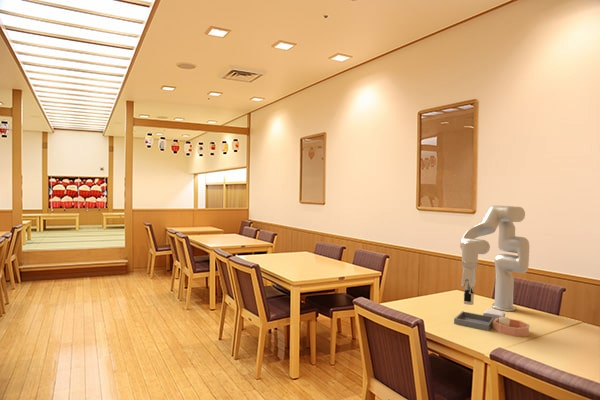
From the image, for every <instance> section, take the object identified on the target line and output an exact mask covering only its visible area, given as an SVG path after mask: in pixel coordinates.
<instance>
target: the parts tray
mask: <svg viewBox="0 0 600 400" xmlns="http://www.w3.org/2000/svg"><path fill="white" fill-rule="evenodd" d="M494 319H495V317H490V316H484V315H483V314H478V313H473V312H469V311H468V312H467V311H463V310H462V311H461V312H460V313H459V314H457V316H455V317H454V319H453V324H454V325H458V326H463V327H468V328H473V329H476V330H477V329H478V330H482V331H487V332H489V331H490V330H491V329H492V328H493V321H494Z"/></svg>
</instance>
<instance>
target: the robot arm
mask: <svg viewBox="0 0 600 400" xmlns="http://www.w3.org/2000/svg"><path fill="white" fill-rule="evenodd" d="M525 217H526V210H525V209H524V208H523V207H521V206H514V205H513V206H511V205H491V206H489V207H488V208H487V210H486V211H485V214H484V215H483V218H482V219H481V220H480V223H477V224H476V225H474V226H472V227H470V228H469V229H468V230H466V232H465V233H464V234H463V236H462V237H461V240H460V242H459V243H460V244H459V247H460V249H461V268H462V275H461V287H462V288H464V289H463V290H464V291H463V302H464V301H467V302H471V294H470V293H473V294H475V293H474V287H475V285H476V275H477V274H476V270H477V269H479V268H478V267H479V266H478V264H479V255H485V254H488V253H489V252H490V250H491V249H490V248H491V245H490V243H489V241H487V240H486V239H479V237H482V236H484V237H485V236H488V235H492V234H494V233H495V232H496V230H497V228H498V241H497V245H498V247H497V248H498V249H499V250H500V251H501V252H505V253H498V254H496V255H495V257H494V269H495V282H494V283H495V286H494V290H495V291H494V303H493V302H492V303H491V307H492V308H493V309H494V310H497V311H502V312H504V311H505V312H513V311H516V310H517V309H516V308H517V307H516V306H514V291H515V290H514V288H515V284H514V283H515V278H514V275H513V274H512V273H519V274H526V273H527V272H528V270H529V265H530V263H529V262H530V241H529V240H528V238H526V237H523V236H517V235H516V226H515V224H514V223H521V222H522V221H523V220H525ZM506 252H507V253H508V254H507V253H506ZM509 253H513V254H509ZM515 254H517V255H515Z"/></svg>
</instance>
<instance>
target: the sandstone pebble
mask: <svg viewBox="0 0 600 400" xmlns="http://www.w3.org/2000/svg"><path fill="white" fill-rule="evenodd" d="M470 294H471V302H467V301H464V300H463V304H464V305H469V306H472V305H474V298H475V293H470Z"/></svg>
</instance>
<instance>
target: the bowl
mask: <svg viewBox="0 0 600 400" xmlns="http://www.w3.org/2000/svg"><path fill="white" fill-rule="evenodd" d="M492 330H494V331H496V332H498V333H500V334H502V335H507V336H512V337H529V334H530V324H529V323H527V322H524V321H523V320H519V319H513V318H510V325H509V326H504V325H501V324H499V318H495V319H494V321H493V326H492Z"/></svg>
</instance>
